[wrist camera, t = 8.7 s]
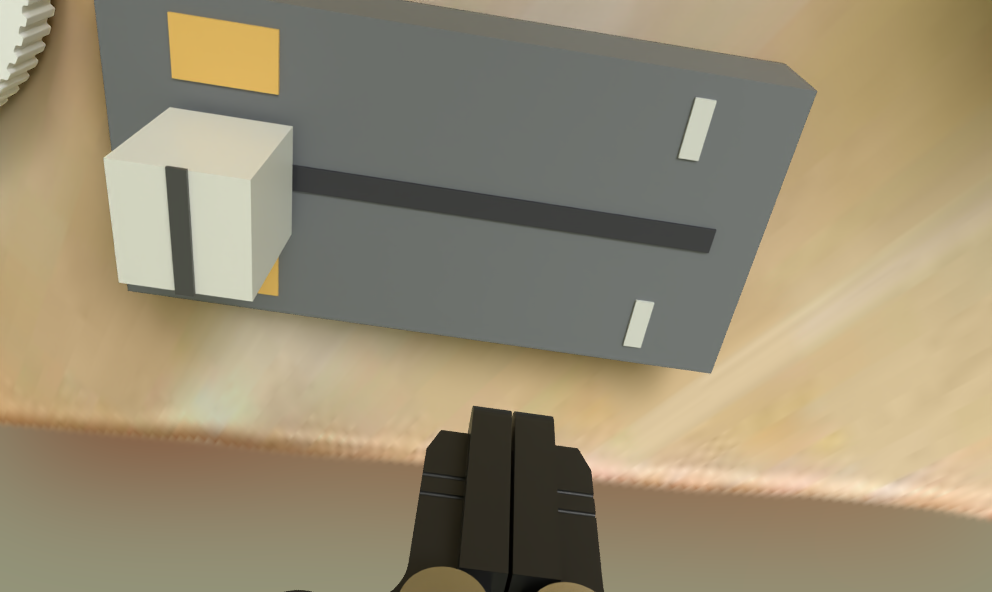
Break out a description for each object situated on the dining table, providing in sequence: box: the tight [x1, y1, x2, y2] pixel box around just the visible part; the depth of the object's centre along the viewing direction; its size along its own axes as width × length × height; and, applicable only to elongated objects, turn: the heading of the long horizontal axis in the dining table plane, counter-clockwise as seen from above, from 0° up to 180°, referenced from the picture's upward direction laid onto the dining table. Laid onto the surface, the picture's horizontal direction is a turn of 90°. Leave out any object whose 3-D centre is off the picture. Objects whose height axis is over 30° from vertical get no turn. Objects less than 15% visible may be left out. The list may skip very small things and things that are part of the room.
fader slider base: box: [94, 0, 817, 373], centre depth 24 cm, size 10×20×3 cm, turn 81°
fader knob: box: [103, 107, 293, 302], centre depth 21 cm, size 4×4×4 cm
